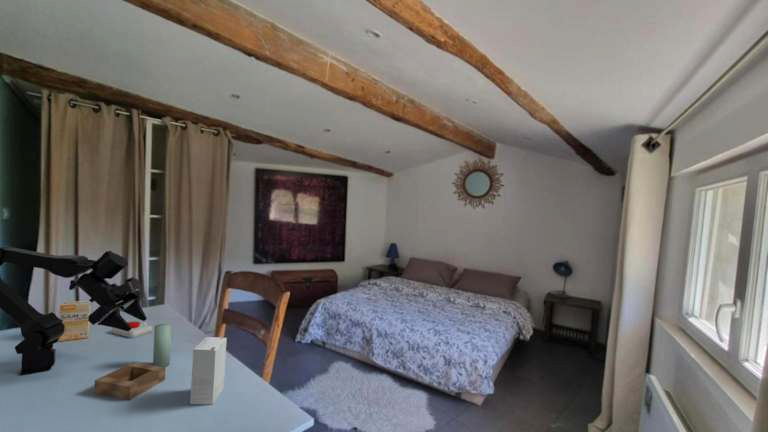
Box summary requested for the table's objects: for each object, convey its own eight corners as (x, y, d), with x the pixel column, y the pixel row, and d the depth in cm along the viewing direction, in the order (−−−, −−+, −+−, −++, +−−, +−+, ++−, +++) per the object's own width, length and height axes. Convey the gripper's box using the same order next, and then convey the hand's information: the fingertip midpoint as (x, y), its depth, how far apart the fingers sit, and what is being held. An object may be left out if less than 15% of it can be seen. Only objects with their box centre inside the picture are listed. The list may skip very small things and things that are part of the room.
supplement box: (57, 342, 122) (58, 305, 121) (60, 337, 126) (61, 301, 125) (88, 338, 126) (89, 302, 126) (90, 334, 130) (91, 299, 130)
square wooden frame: (94, 393, 92) (94, 380, 92) (132, 373, 103) (133, 362, 103) (129, 400, 90) (129, 386, 90) (164, 379, 101) (165, 367, 101)
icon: (158, 320, 137) (132, 328, 128) (157, 331, 137) (131, 340, 128) (136, 315, 141) (110, 322, 132) (136, 326, 141) (109, 334, 132)
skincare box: (202, 388, 97) (205, 336, 97) (225, 388, 98) (227, 336, 97) (189, 405, 89) (191, 348, 88) (213, 405, 89) (216, 348, 89)
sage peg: (153, 369, 106) (154, 329, 106) (152, 364, 110) (154, 324, 109) (170, 366, 109) (171, 327, 108) (168, 361, 112) (170, 322, 112)
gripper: (101, 277, 97) (144, 316, 99) (136, 265, 115) (171, 298, 118) (68, 305, 96) (112, 343, 98) (109, 289, 114) (145, 321, 116)
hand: (138, 324), depth 108 cm, fingers open, 9 cm apart
